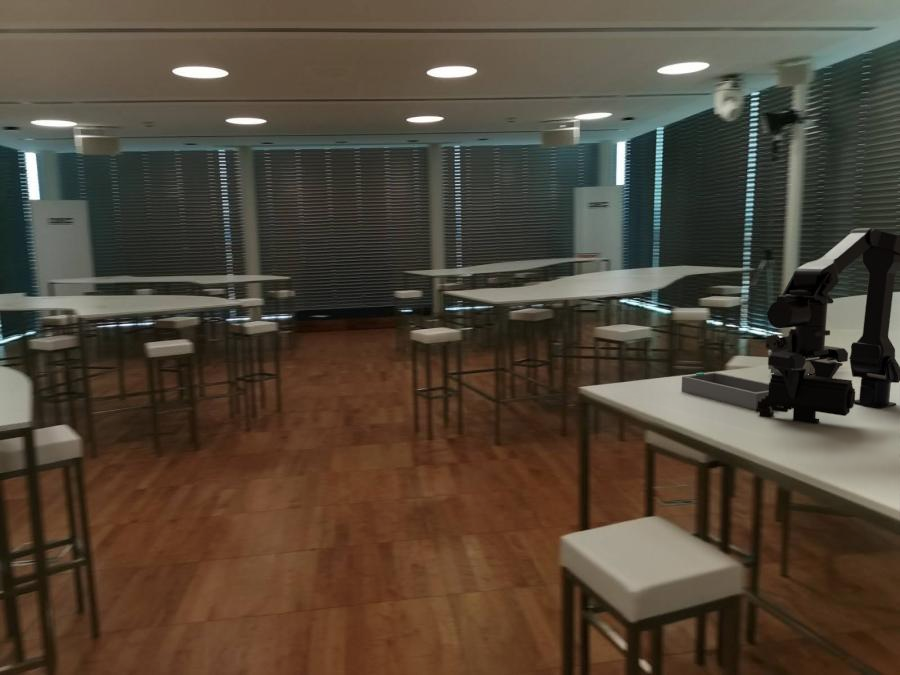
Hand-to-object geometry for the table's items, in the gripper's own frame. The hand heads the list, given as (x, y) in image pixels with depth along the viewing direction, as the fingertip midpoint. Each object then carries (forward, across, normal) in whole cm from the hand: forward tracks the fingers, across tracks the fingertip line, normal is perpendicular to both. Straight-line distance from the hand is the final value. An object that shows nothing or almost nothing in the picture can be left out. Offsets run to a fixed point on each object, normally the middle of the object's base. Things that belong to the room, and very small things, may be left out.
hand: (805, 395), depth 136 cm
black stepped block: (+6, 0, 0) cm, 6 cm away
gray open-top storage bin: (+6, -5, -23) cm, 24 cm away
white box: (+6, -45, -34) cm, 57 cm away
